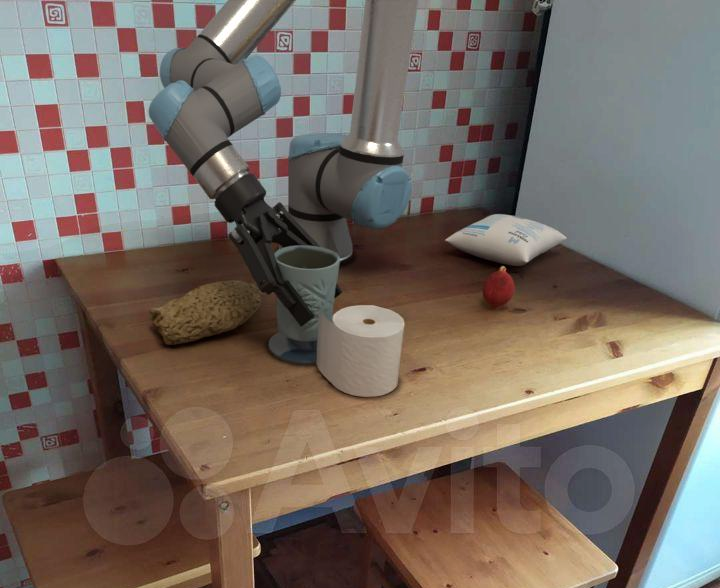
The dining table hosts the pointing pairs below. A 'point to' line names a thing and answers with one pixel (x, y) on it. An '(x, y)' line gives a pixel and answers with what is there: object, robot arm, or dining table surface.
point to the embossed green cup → (307, 287)
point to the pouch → (506, 239)
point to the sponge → (206, 311)
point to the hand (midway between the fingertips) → (322, 309)
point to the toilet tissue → (361, 349)
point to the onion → (498, 288)
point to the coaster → (293, 350)
